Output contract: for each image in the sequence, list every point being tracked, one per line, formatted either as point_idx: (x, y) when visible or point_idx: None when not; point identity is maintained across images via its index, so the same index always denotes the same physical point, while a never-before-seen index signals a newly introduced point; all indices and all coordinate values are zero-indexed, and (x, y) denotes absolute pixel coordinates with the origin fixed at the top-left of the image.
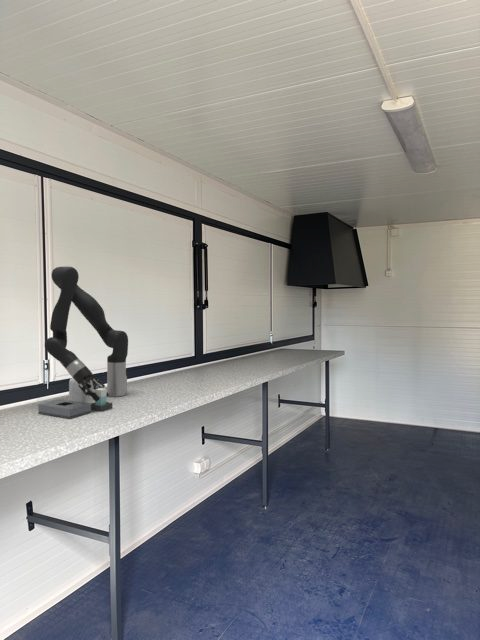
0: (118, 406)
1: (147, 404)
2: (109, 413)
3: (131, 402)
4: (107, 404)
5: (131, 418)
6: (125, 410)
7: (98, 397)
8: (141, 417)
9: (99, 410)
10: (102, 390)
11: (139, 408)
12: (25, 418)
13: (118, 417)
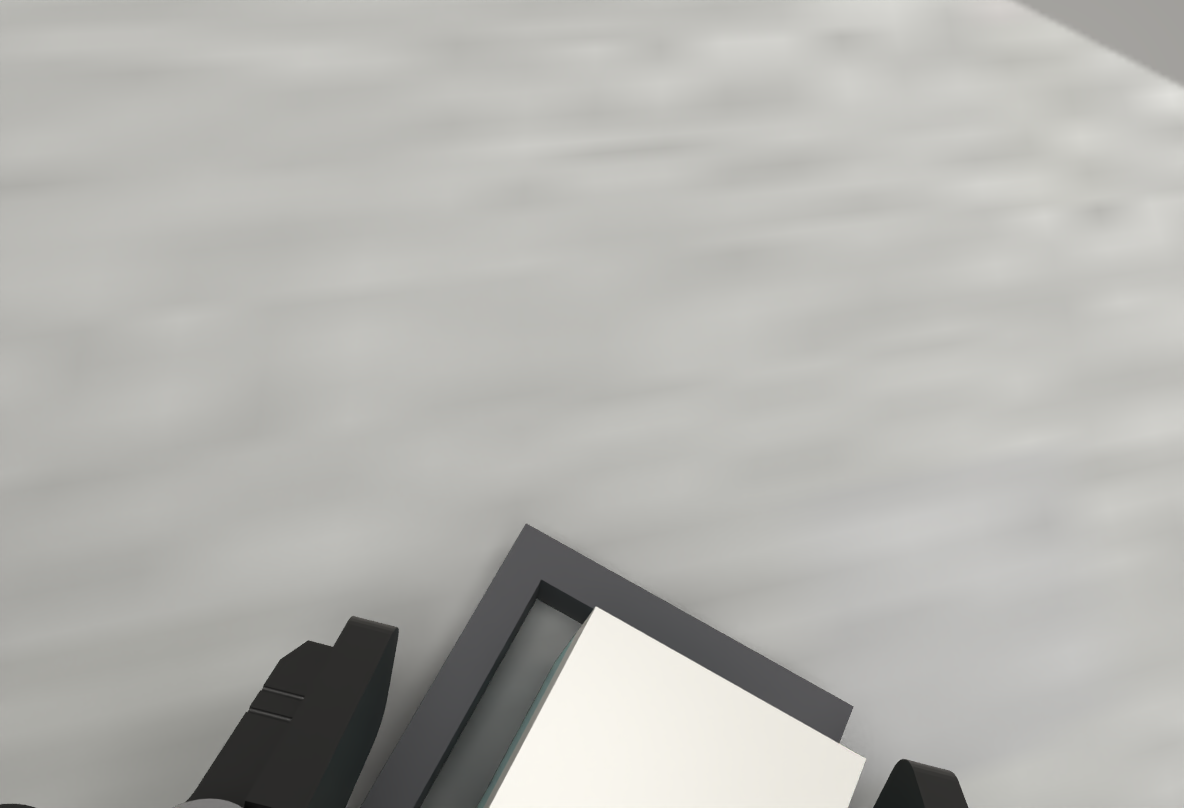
0: (357, 460)
1: (244, 16)
2: (918, 521)
3: (14, 272)
4: (669, 604)
5: (1146, 157)
6: (681, 293)
7: (957, 791)
8: (1066, 48)
9: None
10: (790, 718)
11: (535, 107)
12: None
13: (1137, 332)
